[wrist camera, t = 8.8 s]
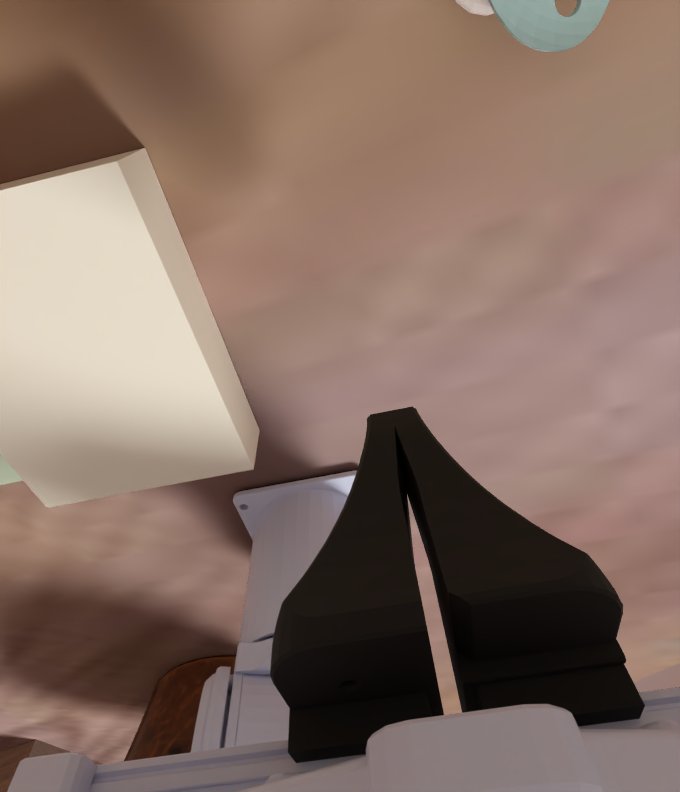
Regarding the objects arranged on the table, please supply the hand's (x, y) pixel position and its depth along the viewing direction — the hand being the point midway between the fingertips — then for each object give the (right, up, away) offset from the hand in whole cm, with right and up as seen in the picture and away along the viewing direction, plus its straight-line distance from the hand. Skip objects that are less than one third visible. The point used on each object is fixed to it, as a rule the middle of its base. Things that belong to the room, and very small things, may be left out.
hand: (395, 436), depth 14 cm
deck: (-13, +4, +8) cm, 16 cm away
